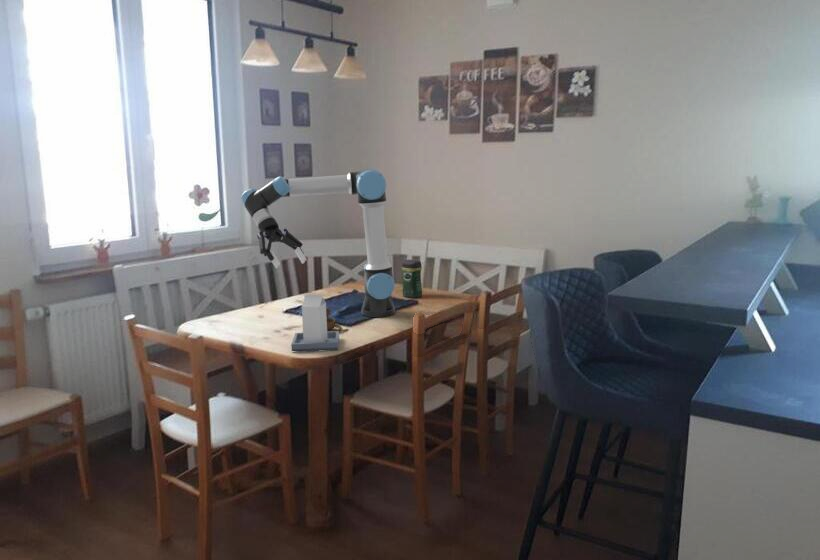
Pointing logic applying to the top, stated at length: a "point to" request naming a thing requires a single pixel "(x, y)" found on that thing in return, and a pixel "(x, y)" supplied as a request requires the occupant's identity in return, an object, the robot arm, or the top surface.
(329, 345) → the tray
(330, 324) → the brown toy crab
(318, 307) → the milk carton
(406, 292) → the coffee jar
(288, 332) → the top surface
